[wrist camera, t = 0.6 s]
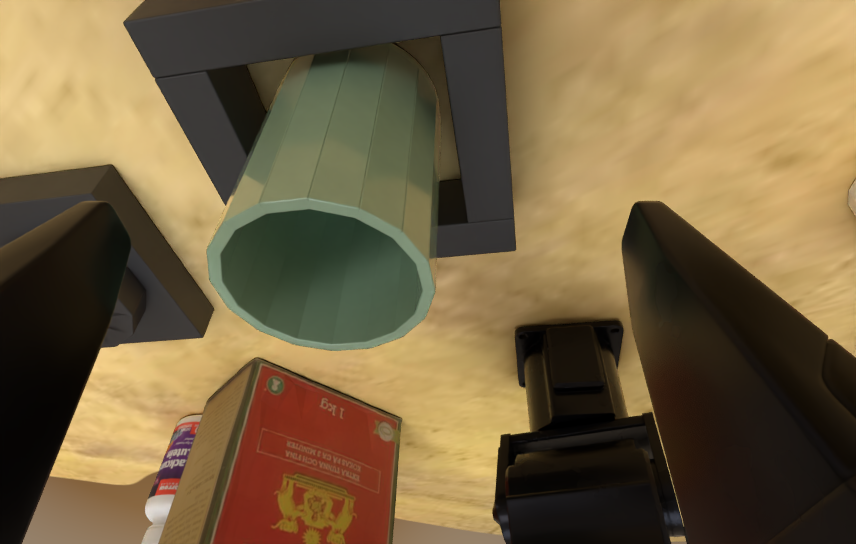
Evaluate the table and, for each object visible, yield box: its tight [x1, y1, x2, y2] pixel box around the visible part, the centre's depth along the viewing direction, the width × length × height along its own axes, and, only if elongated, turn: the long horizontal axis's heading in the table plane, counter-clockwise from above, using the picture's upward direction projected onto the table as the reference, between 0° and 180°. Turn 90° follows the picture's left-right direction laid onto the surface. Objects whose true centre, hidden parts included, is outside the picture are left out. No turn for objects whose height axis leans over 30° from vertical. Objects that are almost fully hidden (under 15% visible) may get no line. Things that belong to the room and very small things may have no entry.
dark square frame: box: [123, 0, 516, 258], centre depth 22 cm, size 12×12×3 cm
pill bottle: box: [142, 415, 202, 544], centre depth 42 cm, size 5×5×10 cm
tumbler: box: [207, 43, 441, 351], centre depth 20 cm, size 7×7×10 cm
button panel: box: [0, 165, 214, 348], centre depth 29 cm, size 11×9×4 cm
